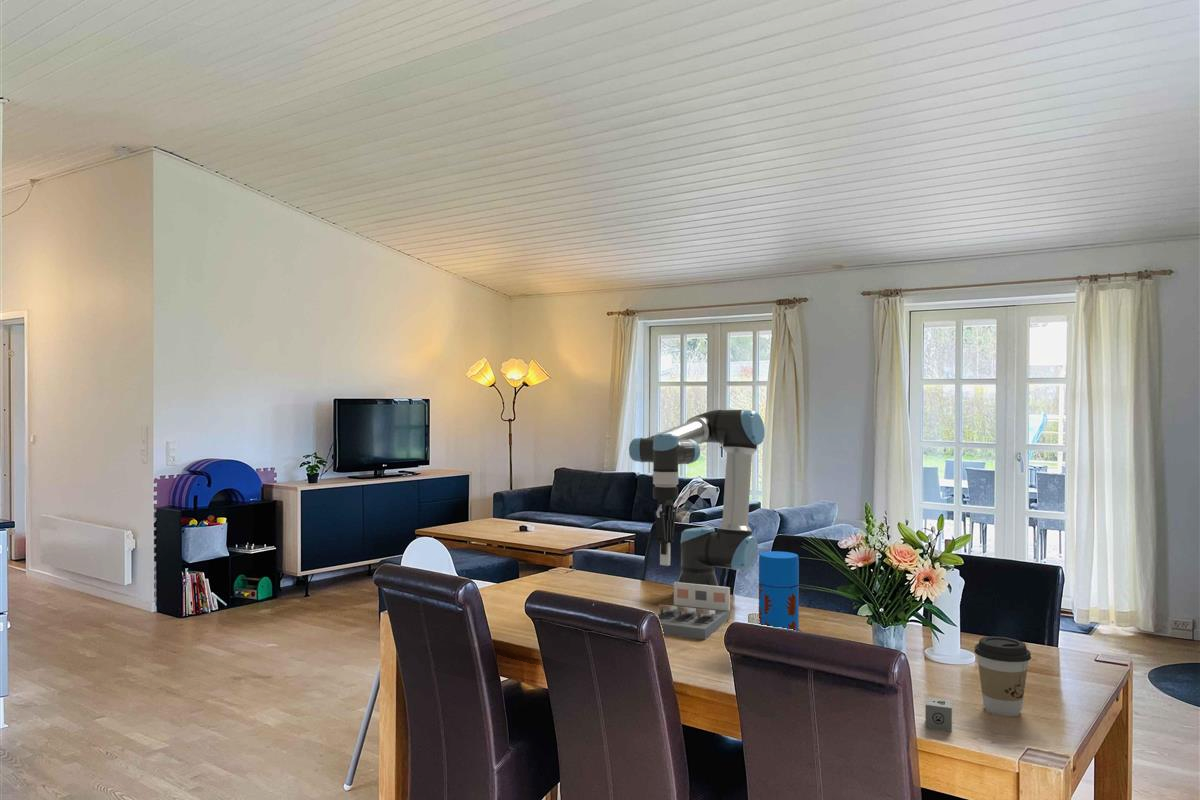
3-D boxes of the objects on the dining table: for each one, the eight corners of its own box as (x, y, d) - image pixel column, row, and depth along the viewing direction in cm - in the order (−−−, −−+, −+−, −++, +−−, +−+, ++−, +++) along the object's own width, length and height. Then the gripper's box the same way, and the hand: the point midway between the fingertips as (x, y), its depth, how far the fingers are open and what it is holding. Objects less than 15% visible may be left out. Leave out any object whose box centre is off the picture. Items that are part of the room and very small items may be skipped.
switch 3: (705, 613, 254) (705, 609, 254) (714, 614, 252) (715, 610, 253) (696, 613, 247) (697, 608, 247) (706, 614, 245) (707, 609, 246)
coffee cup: (1005, 723, 178) (1005, 652, 178) (962, 705, 188) (962, 638, 188) (1043, 715, 182) (1043, 646, 182) (999, 698, 193) (999, 632, 193)
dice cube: (951, 732, 173) (951, 708, 173) (925, 728, 175) (925, 704, 175) (951, 723, 178) (951, 700, 178) (926, 720, 180) (926, 696, 180)
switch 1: (667, 609, 259) (668, 605, 259) (677, 610, 258) (677, 606, 258) (658, 608, 252) (658, 604, 252) (667, 609, 251) (668, 605, 251)
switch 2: (686, 611, 256) (686, 607, 257) (695, 612, 255) (696, 608, 255) (677, 610, 249) (677, 606, 250) (687, 612, 248) (687, 607, 248)
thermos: (796, 640, 239) (796, 551, 239) (801, 651, 229) (801, 558, 229) (757, 638, 240) (757, 550, 240) (760, 650, 230) (760, 558, 230)
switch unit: (674, 613, 269) (674, 581, 269) (729, 619, 261) (729, 587, 261) (646, 632, 247) (646, 597, 247) (705, 639, 239) (705, 604, 239)
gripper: (661, 483, 260) (661, 560, 260) (645, 486, 248) (645, 567, 248) (684, 484, 257) (684, 562, 256) (669, 488, 245) (669, 569, 245)
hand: (665, 564), depth 252 cm, fingers closed
